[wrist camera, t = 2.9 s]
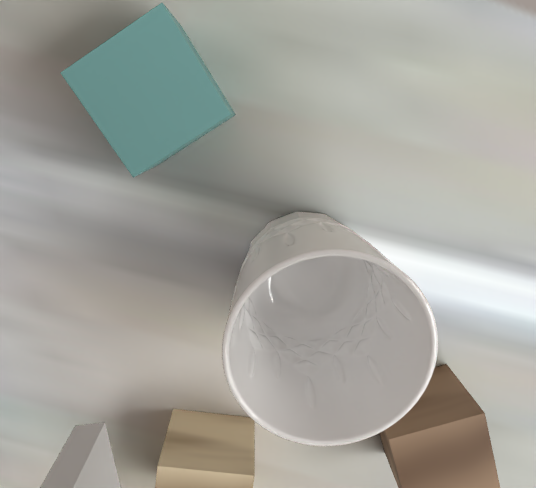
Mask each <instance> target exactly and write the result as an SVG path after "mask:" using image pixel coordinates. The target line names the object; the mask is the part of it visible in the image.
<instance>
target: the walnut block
mask: <svg viewBox="0 0 536 488" xmlns="http://www.w3.org/2000/svg"><path fill="white" fill-rule="evenodd" d="M380 437H381V440H382V444H383V447H384V451H385V454H386V457H387V459H388V462H389V464H390V467H391V469H392V472H393V475H394V477H395V480H396V482H397V485H398V487H399V488H500V485H499V480H498V475H497V470H496V465H495V460H494V456H493V451H492V446H491V441H490V436H489V431H488V427H487V422H486V417H485V413H484V412H483V410H482V409H481V408H480V406H479V405H478V404H477V403H476V401H475V400H474V399H473V397H472V396H471V395H470V394H469V392H468V391H467V390H466V388H465V387H464V386H463V385H462V383H461V382H460V381H459V379H458V378H457V377H456V376H455V374H454V373H453V372H452V371H451V369H450V368H449V367H448V365H447V364H445V365H441V366H438V367H435V368H434V371H433V374H432V377H431V379H430V382H429V384H428V386H427V388H426V389H425V391H424V393H423V394H422V396H421V397H420V399H419V400H418V401H417V403H416V404H415V405H414V406H413V408H412V409H411V410H410V411H409V412H408V413H407V414H406V415H405V416H403V417H402V418H401V419H400V420H399V421H397V422H396V423H395V424H393V425H392V426H390V427H389V428H387V429H386V430H384V431H382V432H380Z"/></svg>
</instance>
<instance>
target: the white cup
mask: <svg viewBox="0 0 536 488" xmlns="http://www.w3.org/2000/svg"><path fill="white" fill-rule="evenodd" d="M437 352H438V334H437V327H436V322H435V318H434V315H433V312H432V310H431V307H430V305H429V303H428V301H427V299H426V297H425V296H424V294H423V293H422V291H421V290H420V289H419V287H418V286H417V285H416V284H415V283H414V282H413V280H412V279H411V278H410V277H408V276H407V275H406V274H405V273H404V272H403V271H401V270H400V269H399V268H398V267H397V266H395V265H394V264H393V263H392V262H391V261H390V260H388V259H387V258H386V257H385V256H384V255H383V254H381V253H380V252H379V251H378V250H377V249H376V248H375V247H373V246H372V245H371V244H370V243H369V242H367V241H366V240H364V239H363V238H362V237H361V236H359V235H358V234H357V233H355V232H354V231H353V230H351V229H350V228H348V227H346V226H344V225H342V224H341V223H339V222H337V221H336V220H334V219H332V218H331V217H329V216H327V215H326V214H322V213H310V212H298V211H296V212H294V213H291V214H288V215H286V216H283V217H280V218H278V219H275V220H272V221H270V222H269V223H268V224H267V225H266V226H265V227H264V228H263V229H262V230H261V232H260V233H259V234H258V235H257V236H256V237H255V238H254V239H253V240H252V241H251V244H250V247H249V250H248V253H247V256H246V258H245V260H244V262H243V264H242V266H241V270H240V273H239V276H238V280H237V282H236V286H235V289H234V293H233V298H232V302H231V306H230V311H229V315H228V319H227V323H226V327H225V331H224V336H223V343H222V361H223V368H224V373H225V377H226V380H227V383H228V385H229V388H230V390H231V392H232V394H233V396H234V398H235V399H236V401H237V402H238V404H239V405H240V406H241V408H242V409H243V410H244V411H245V412H246V414H247V415H248V416H249V417H250V418H251V419H253V420H254V421H255V422H256V423H257V424H259V425H260V426H261V427H263V428H264V429H266V430H267V431H269V432H271V433H273V434H275V435H277V436H279V437H281V438H284V439H286V440H289V441H293V442H296V443H301V444H306V445H313V446H337V445H344V444H350V443H354V442H358V441H361V440H364V439H367V438H369V437H372V436H374V435H376V434H378V433H380V432H382V431H384V430H386V429H387V428H389V427H390V426H392V425H393V424H395V423H396V422H397V421H399V420H400V419H401V418H402V417H403V416H405V415H406V414H407V413H408V412H409V411H410V410H411V409H412V408H413V406H414V405H415V404H416V403H417V401H418V400H419V399H420V397H421V396H422V394H423V393H424V391H425V389H426V388H427V386H428V384H429V382H430V379H431V377H432V374H433V371H434V368H435V364H436V359H437Z"/></svg>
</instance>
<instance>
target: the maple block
mask: <svg viewBox="0 0 536 488" xmlns="http://www.w3.org/2000/svg"><path fill="white" fill-rule="evenodd" d="M253 482H254V420H253V419H251V418H250V417H243V416H234V415H224V414H215V413H206V412H197V411H188V410H179V409H173V412H172V415H171V419H170V422H169V426H168V430H167V433H166V437H165V440H164V444H163V448H162V451H161V455H160V458H159V462H158V466H157V475H156V485H155V488H253Z"/></svg>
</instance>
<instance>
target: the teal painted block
mask: <svg viewBox="0 0 536 488" xmlns="http://www.w3.org/2000/svg"><path fill="white" fill-rule="evenodd" d="M61 74H62V76H63V77H64V79H65V80H66V82H67V83H68V84H69V86H70V87H71V89H72V90H73V92H74V93H75V95H76V96H77V97H78V99H79V100H80V102H81V103H82V105H83V106H84V107H85V109H86V110H87V112H88V113H89V115H90V116H91V118H92V119H93V120H94V122H95V123H96V125H97V126H98V128H99V129H100V130H101V132H102V133H103V135H104V136H105V138H106V139H107V141H108V142H109V143H110V145H111V146H112V148H113V149H114V151H115V152H116V153H117V155H118V156H119V158H120V159H121V161H122V162H123V164H124V165H125V166H126V168H127V169H128V171H129V172H130V174H131V175H132V176H133V178H134V177H136V176H138V175H140V174H141V173H143V172H145V171H147V170H149V169H151V168H153V167H155V166H157V165H159V164H160V163H162V162H163V161H165V160H166V159H168V158H169V157H171V156H173V155H174V154H176V153H177V152H179V151H180V150H182V149H183V148H185V147H186V146H188V145H190V144H191V143H193V142H194V141H196V140H197V139H199V138H200V137H202V136H204V135H205V134H207V133H208V132H210V131H211V130H213V129H214V128H216V127H217V126H219V125H221V124H222V123H224V122H225V121H227V120H228V119H230V118H231V117H233V116H234V115H235V113H234V111H233V110H232V108H231V107H230V105H229V103H228V102H227V100H226V98H225V97H224V95H223V93H222V92H221V90H220V89H219V87H218V85H217V84H216V82H215V80H214V79H213V77H212V76H211V74H210V72H209V71H208V69H207V67H206V66H205V64H204V63H203V61H202V59H201V58H200V56H199V54H198V53H197V51H196V49H195V48H194V46H193V45H192V43H191V41H190V40H189V38H188V36H187V35H186V33H185V32H184V30H183V28H182V27H181V25H180V24H179V23H178V21H177V20H176V19H175V18H174V16H173V15H172V14H171V13H170V12H169V10H168V9H167V8H166V7H165V5H164V4H163V3H161V4H159V5H158V6H156V7H155V8H153V9H152V10H150V11H149V12H148V13H146V14H145V15H143V16H142V17H140V18H139V19H137V20H136V21H135V22H133V23H132V24H130V25H129V26H127V27H126V28H124V29H123V30H122V31H120V32H119V33H117V34H116V35H114V36H113V37H111V38H110V39H108V40H107V41H106V42H104V43H103V44H101V45H100V46H98V47H97V48H95V49H94V50H93V51H91V52H90V53H88V54H87V55H85V56H84V57H82V58H81V59H80V60H78V61H77V62H75V63H74V64H72V65H71V66H69V67H68V68H67V69H65V70H64V71H62V72H61Z"/></svg>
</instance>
